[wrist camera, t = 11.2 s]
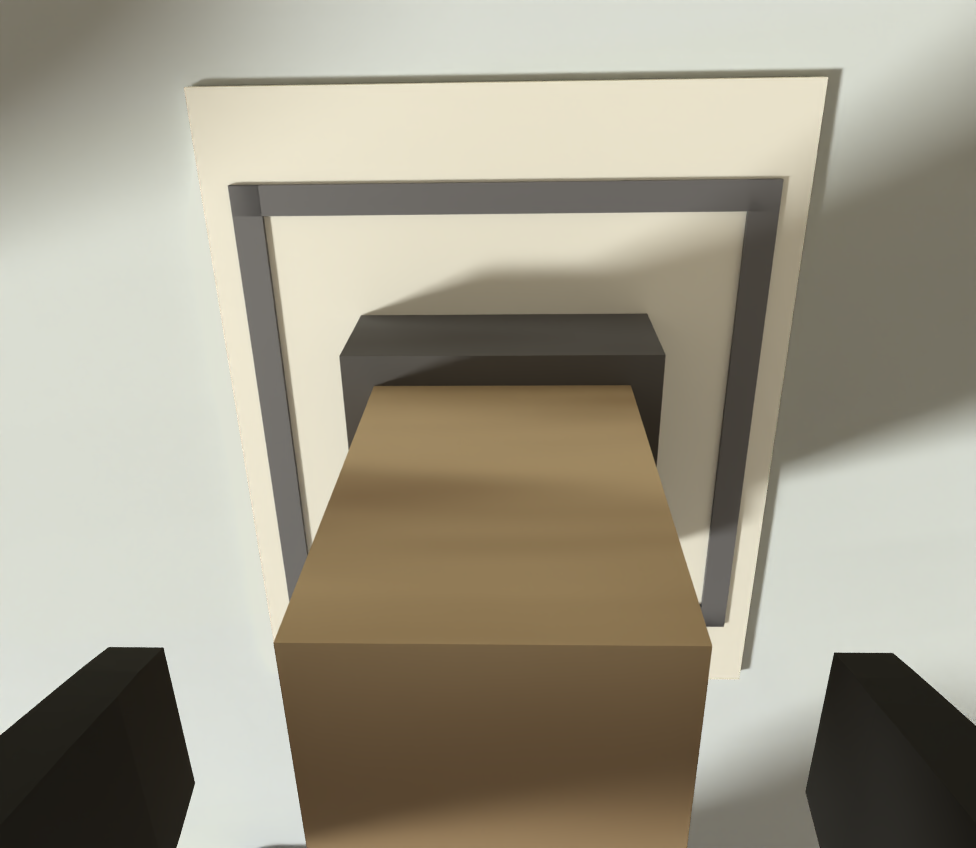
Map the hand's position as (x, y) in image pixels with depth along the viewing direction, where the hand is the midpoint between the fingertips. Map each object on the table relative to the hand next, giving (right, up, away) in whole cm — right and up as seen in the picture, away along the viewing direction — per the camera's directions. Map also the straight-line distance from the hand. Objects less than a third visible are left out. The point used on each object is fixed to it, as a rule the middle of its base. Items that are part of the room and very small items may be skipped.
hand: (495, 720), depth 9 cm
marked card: (0, +3, +7) cm, 7 cm away
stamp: (0, +3, +7) cm, 7 cm away
